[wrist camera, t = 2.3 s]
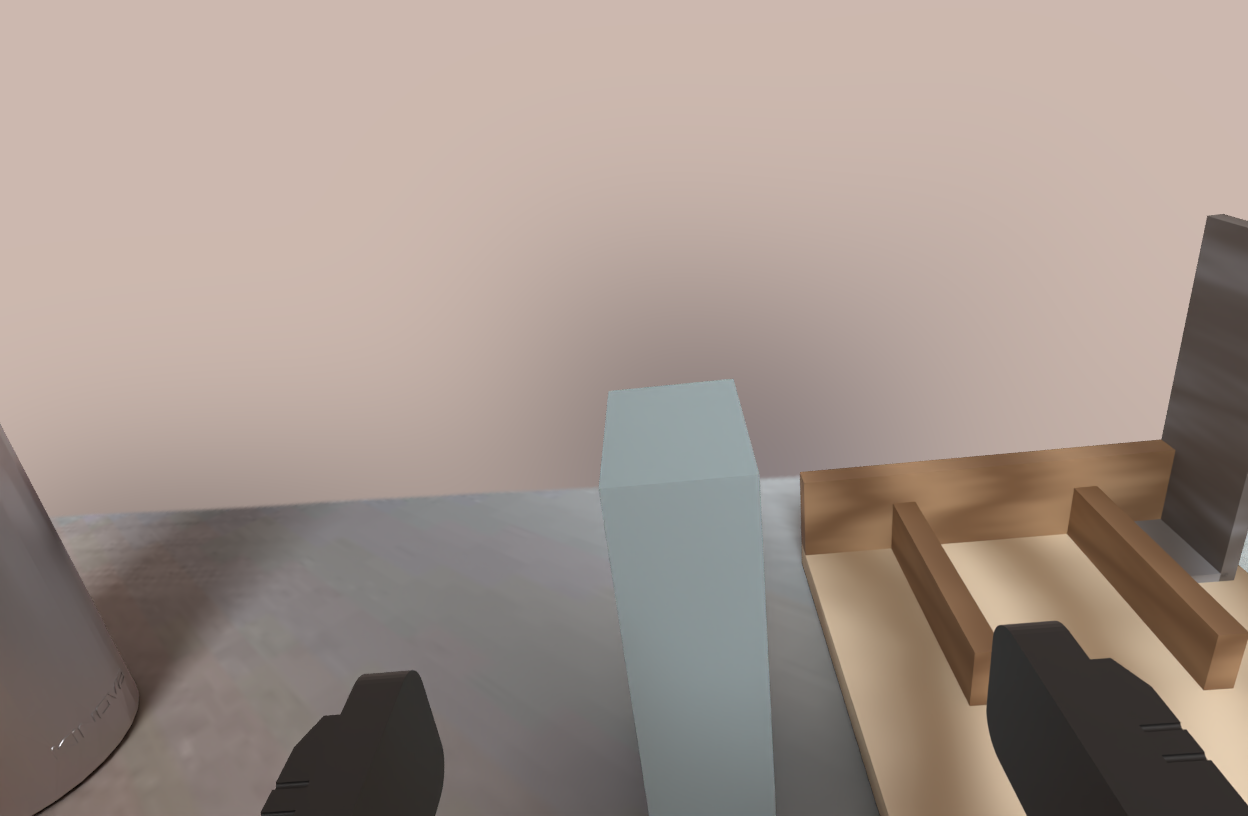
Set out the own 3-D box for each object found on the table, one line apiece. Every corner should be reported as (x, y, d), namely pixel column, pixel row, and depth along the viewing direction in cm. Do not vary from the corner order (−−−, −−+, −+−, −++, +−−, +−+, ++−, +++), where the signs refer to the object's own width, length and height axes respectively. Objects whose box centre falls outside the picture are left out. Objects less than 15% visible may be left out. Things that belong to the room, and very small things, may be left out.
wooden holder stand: (901, 886, 23) (927, 446, 17) (802, 563, 37) (794, 261, 31) (1523, 854, 22) (1810, 365, 15) (1172, 532, 36) (1244, 211, 30)
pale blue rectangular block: (654, 853, 25) (598, 488, 19) (652, 709, 30) (608, 391, 24) (777, 846, 25) (759, 474, 19) (753, 702, 30) (733, 378, 24)
